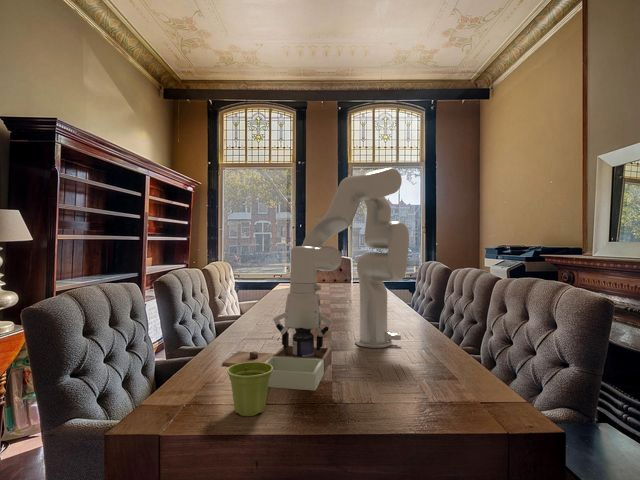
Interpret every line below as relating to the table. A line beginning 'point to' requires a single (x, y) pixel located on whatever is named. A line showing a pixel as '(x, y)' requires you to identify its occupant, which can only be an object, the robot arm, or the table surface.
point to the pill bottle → (303, 343)
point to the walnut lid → (247, 358)
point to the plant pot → (249, 386)
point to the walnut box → (321, 354)
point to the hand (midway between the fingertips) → (302, 348)
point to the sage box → (295, 372)
